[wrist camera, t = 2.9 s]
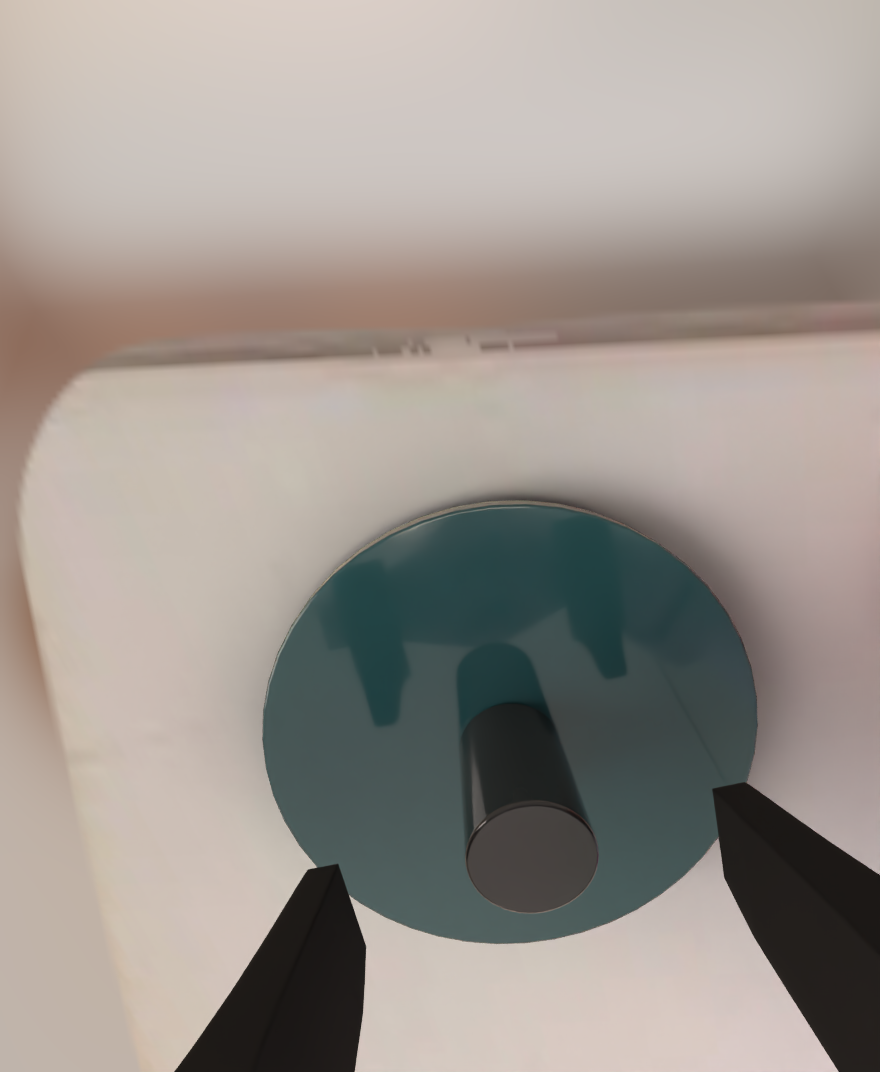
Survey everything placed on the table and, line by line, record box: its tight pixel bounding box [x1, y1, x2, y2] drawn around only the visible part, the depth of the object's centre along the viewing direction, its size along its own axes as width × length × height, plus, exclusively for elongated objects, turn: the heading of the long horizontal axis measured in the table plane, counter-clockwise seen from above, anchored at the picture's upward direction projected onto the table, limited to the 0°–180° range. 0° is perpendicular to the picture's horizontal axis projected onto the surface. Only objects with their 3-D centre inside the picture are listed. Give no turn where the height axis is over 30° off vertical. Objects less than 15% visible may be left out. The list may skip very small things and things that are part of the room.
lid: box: [262, 500, 758, 944], centre depth 13 cm, size 13×13×5 cm
